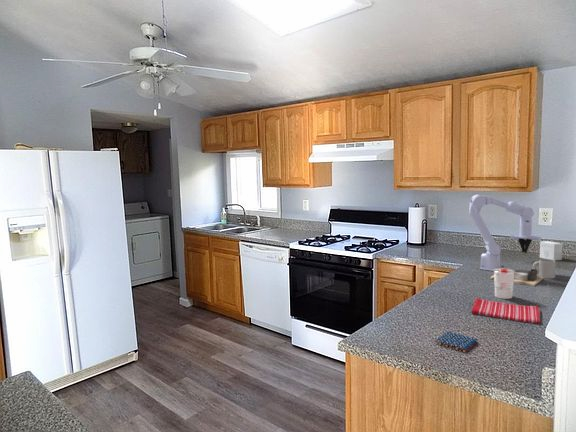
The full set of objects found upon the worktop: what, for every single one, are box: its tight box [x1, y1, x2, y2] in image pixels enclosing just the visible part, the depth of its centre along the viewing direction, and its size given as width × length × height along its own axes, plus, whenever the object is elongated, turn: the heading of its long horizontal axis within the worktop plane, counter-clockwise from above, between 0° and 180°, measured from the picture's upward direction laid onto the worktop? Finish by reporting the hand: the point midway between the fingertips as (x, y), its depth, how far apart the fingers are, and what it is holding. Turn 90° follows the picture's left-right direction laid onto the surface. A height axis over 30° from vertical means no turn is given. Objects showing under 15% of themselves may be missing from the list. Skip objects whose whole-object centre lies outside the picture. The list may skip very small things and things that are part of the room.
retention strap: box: [500, 266, 529, 273], centre depth 203 cm, size 16×3×2 cm, turn 45°
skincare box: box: [539, 240, 563, 261], centre depth 246 cm, size 10×6×10 cm, turn 14°
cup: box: [532, 258, 557, 280], centre depth 207 cm, size 7×10×9 cm
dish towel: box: [471, 298, 541, 325], centre depth 158 cm, size 17×24×3 cm
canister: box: [493, 268, 515, 300], centre depth 176 cm, size 10×8×12 cm
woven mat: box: [434, 331, 479, 353], centre depth 131 cm, size 10×11×2 cm
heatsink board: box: [489, 265, 544, 287], centre depth 203 cm, size 20×16×6 cm
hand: (524, 252), depth 219 cm, fingers closed
